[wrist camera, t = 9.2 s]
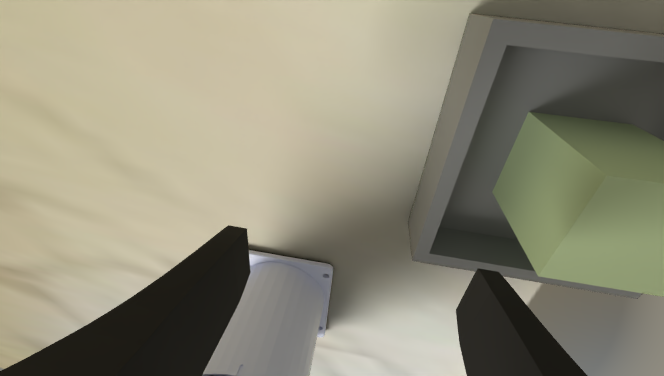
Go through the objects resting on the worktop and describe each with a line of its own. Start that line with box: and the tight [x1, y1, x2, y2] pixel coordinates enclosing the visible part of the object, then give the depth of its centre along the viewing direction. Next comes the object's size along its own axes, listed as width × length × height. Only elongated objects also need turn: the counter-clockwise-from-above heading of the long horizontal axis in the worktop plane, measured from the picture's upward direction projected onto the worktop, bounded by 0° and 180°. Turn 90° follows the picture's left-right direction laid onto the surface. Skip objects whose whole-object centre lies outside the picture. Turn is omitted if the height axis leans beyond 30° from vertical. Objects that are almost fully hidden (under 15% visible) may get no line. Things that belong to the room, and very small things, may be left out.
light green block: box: [492, 112, 664, 297], centre depth 13 cm, size 5×5×6 cm
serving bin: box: [408, 13, 664, 299], centre depth 15 cm, size 12×12×4 cm
